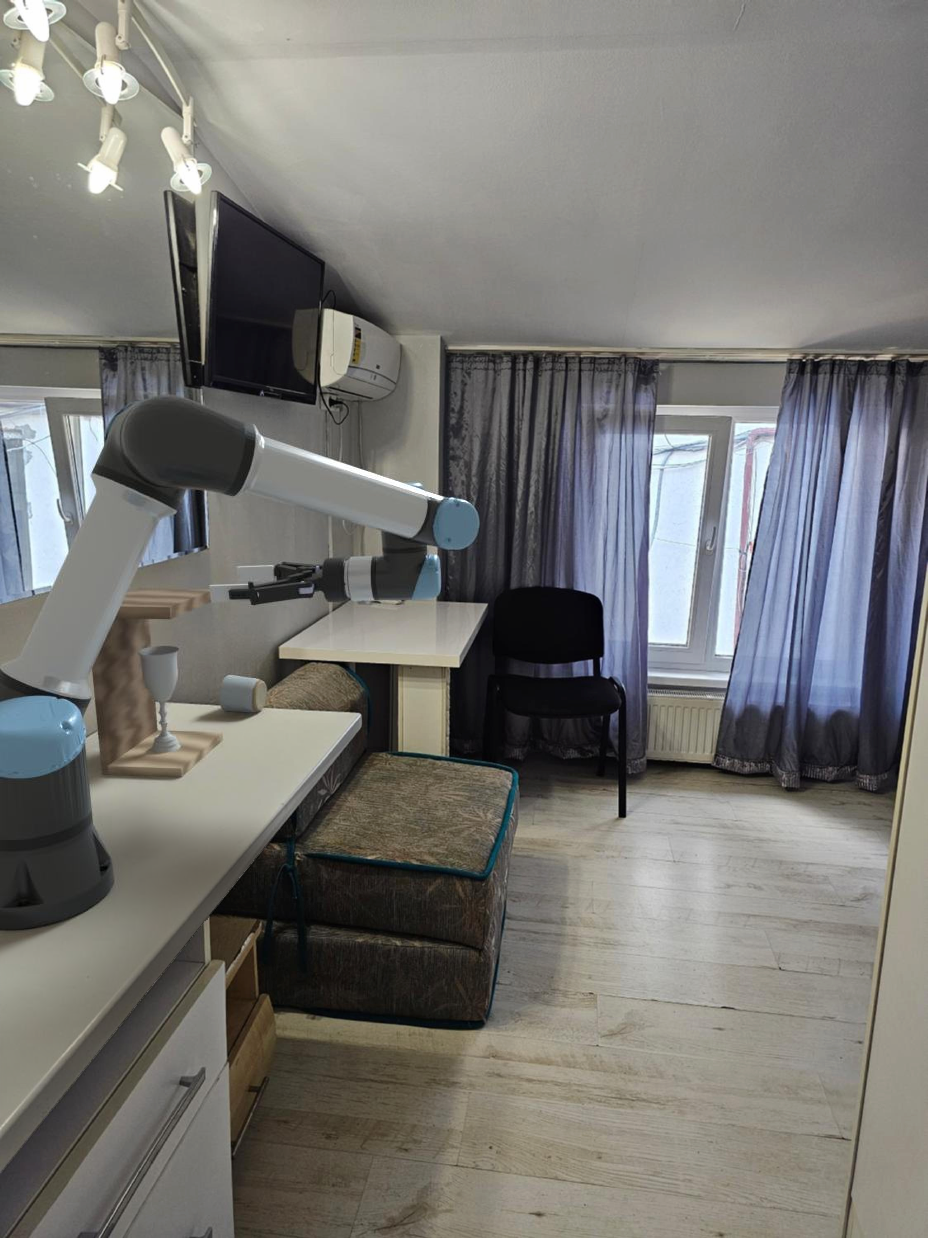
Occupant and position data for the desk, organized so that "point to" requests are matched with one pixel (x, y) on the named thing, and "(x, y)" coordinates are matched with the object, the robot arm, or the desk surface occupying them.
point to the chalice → (161, 688)
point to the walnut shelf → (141, 690)
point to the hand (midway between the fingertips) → (224, 583)
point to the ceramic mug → (242, 694)
